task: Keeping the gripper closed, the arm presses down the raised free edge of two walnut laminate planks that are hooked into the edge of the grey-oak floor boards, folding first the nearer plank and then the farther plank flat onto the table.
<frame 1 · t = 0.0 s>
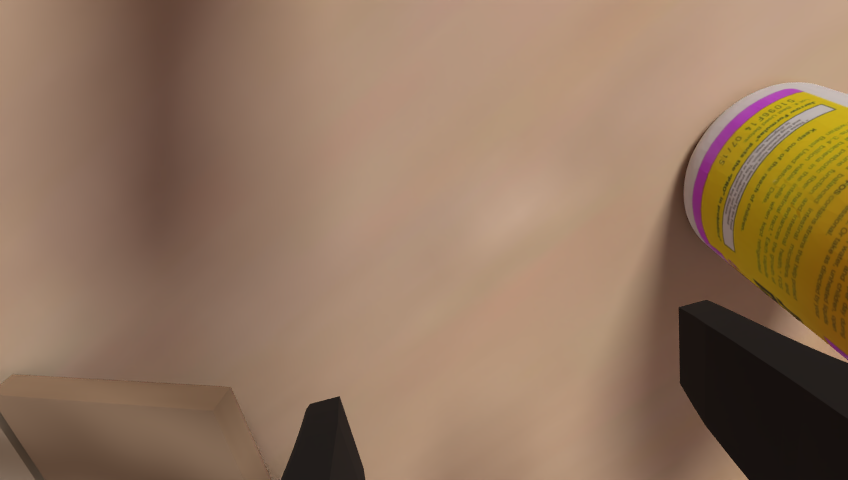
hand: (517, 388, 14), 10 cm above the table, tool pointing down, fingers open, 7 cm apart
supplement bottle: (758, 167, 24), on the table
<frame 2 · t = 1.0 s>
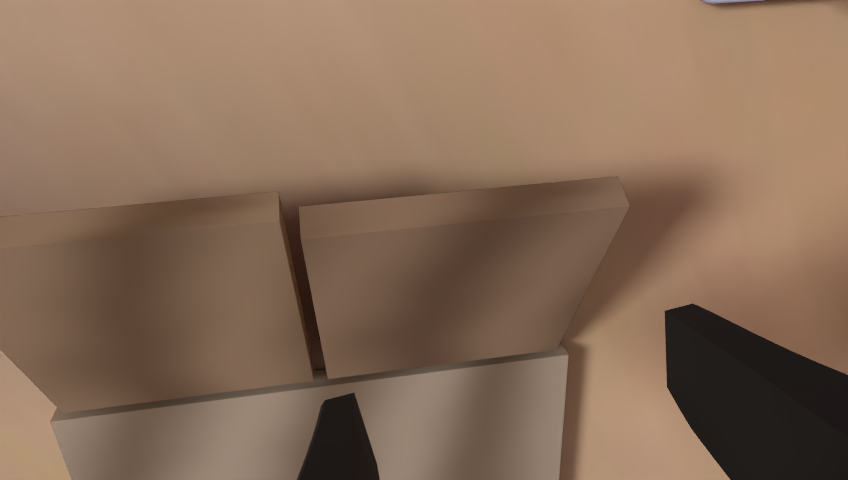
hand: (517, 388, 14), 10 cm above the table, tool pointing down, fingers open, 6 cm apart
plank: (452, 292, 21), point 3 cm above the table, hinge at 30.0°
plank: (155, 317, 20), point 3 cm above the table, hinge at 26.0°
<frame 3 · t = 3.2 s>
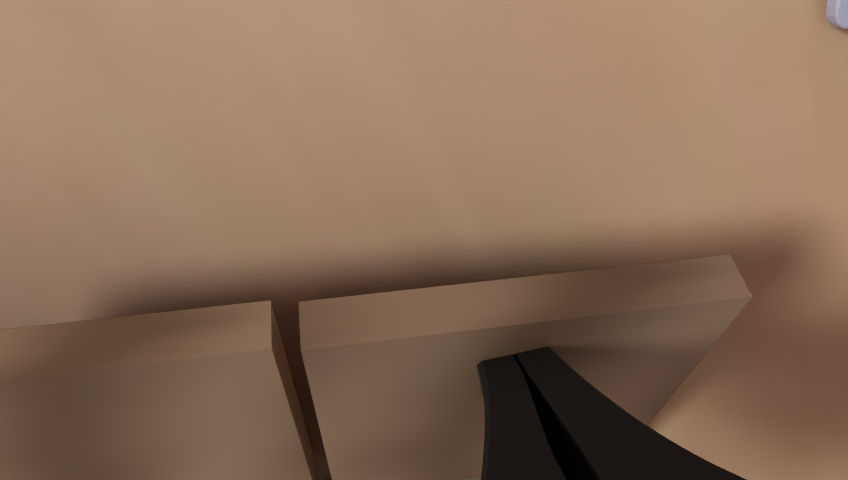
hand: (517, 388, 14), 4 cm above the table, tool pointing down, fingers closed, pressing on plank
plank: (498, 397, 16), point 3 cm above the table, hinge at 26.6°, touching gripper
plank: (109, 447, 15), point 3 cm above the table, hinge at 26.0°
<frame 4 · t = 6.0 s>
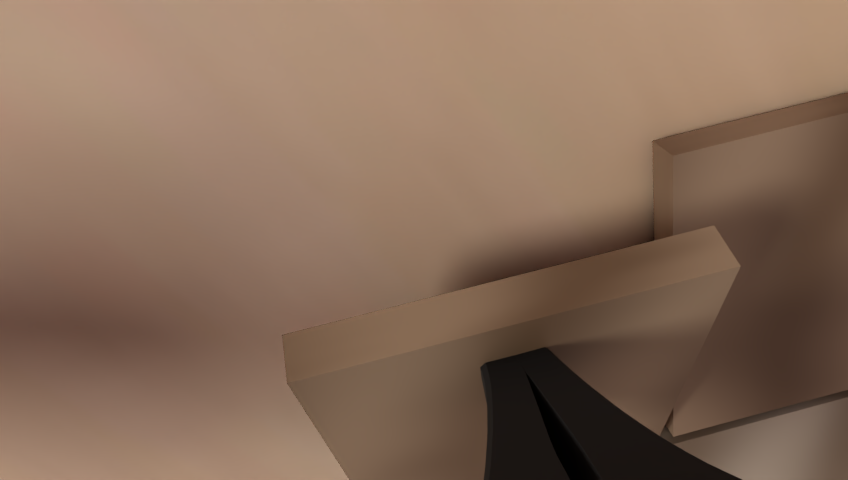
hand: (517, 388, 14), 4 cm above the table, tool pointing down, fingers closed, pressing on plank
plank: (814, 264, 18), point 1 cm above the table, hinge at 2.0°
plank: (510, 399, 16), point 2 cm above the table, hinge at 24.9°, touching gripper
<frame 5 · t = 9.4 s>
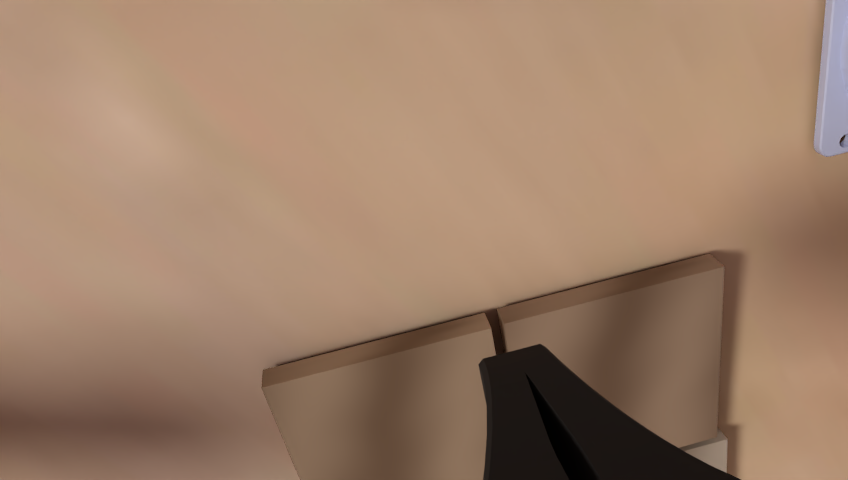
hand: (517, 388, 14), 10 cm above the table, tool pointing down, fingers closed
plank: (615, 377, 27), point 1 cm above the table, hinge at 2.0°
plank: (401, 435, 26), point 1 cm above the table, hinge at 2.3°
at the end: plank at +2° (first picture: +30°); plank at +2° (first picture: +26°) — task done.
